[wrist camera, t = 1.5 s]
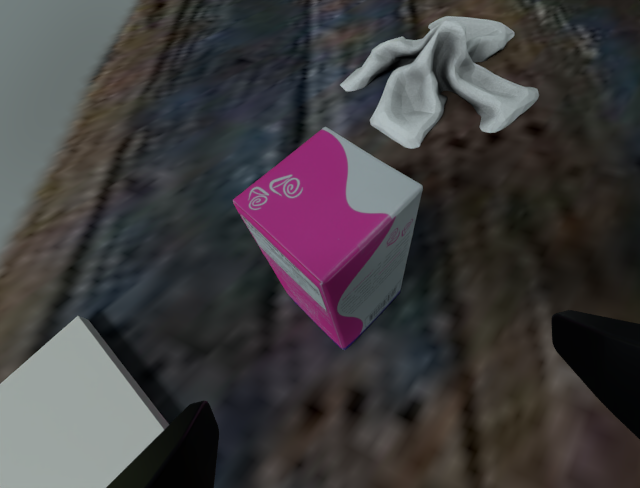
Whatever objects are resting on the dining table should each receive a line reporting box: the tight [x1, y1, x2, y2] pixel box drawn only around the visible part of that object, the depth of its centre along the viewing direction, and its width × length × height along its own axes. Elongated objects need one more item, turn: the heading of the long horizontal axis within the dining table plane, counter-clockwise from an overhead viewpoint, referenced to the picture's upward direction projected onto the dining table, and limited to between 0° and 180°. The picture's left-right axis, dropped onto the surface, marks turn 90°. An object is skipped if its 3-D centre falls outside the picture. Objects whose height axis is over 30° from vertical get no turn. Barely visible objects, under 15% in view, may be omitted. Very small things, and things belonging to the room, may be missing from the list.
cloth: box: [340, 16, 539, 149], centre depth 31 cm, size 22×19×6 cm
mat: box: [0, 316, 169, 488], centre depth 19 cm, size 14×14×1 cm
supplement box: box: [233, 127, 423, 350], centre depth 18 cm, size 6×6×12 cm
